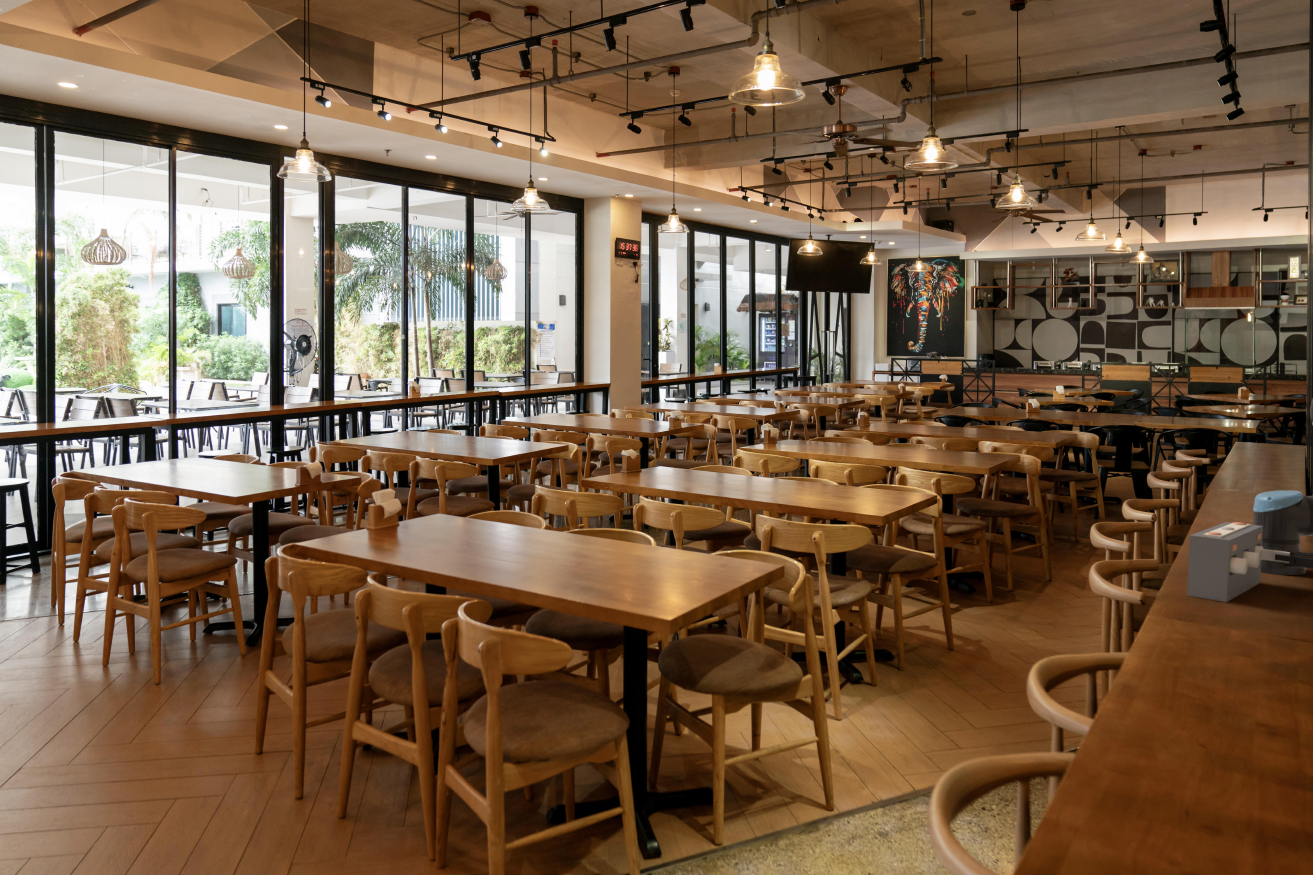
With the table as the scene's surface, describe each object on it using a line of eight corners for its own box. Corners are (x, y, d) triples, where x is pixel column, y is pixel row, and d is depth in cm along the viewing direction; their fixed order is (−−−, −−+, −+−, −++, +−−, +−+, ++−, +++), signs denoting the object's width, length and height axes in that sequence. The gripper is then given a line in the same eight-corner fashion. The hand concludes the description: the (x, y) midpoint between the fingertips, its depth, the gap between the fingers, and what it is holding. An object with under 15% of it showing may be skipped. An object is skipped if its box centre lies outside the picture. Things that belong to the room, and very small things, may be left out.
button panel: (1223, 577, 255) (1225, 519, 254) (1261, 583, 248) (1264, 523, 247) (1187, 595, 235) (1190, 532, 234) (1227, 602, 228) (1230, 537, 227)
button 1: (1222, 569, 234) (1223, 554, 234) (1247, 573, 230) (1247, 557, 229) (1217, 572, 231) (1218, 556, 231) (1242, 575, 227) (1243, 560, 227)
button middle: (1235, 563, 241) (1236, 548, 241) (1259, 566, 237) (1260, 551, 237) (1231, 565, 239) (1231, 550, 238) (1255, 569, 234) (1255, 554, 234)
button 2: (1239, 556, 250) (1240, 542, 250) (1263, 559, 246) (1263, 545, 246) (1235, 558, 247) (1236, 544, 247) (1258, 561, 243) (1259, 547, 243)
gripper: (1365, 587, 223) (1254, 571, 240) (1375, 578, 231) (1267, 564, 249) (1367, 557, 222) (1255, 543, 239) (1377, 550, 231) (1269, 537, 248)
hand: (1262, 554), depth 244 cm, fingers closed
